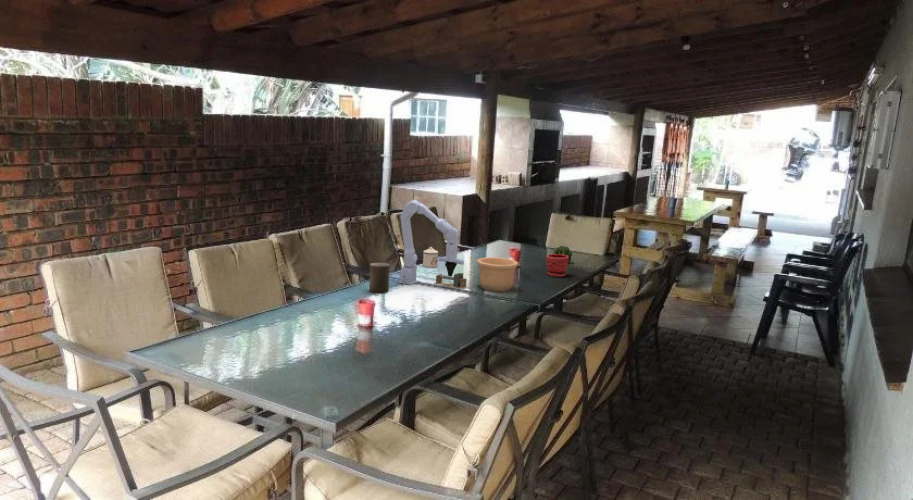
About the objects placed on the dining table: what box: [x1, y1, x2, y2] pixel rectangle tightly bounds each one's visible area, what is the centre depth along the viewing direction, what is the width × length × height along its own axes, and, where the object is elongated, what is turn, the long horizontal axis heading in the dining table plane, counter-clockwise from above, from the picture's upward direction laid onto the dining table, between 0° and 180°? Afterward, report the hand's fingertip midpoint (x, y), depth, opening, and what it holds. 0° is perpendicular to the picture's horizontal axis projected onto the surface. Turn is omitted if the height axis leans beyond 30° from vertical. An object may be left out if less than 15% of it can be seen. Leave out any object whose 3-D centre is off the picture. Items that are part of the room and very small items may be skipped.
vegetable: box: [552, 245, 573, 265], centre depth 426 cm, size 12×13×15 cm
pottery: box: [476, 256, 519, 292], centre depth 350 cm, size 22×22×14 cm
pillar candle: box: [369, 262, 390, 294], centre depth 329 cm, size 10×10×15 cm
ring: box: [452, 272, 464, 287], centre depth 348 cm, size 2×6×6 cm, turn 152°
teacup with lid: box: [422, 246, 439, 269], centre depth 396 cm, size 12×9×12 cm
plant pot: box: [545, 253, 569, 278], centre depth 389 cm, size 13×13×12 cm
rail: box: [433, 273, 468, 290], centre depth 350 cm, size 17×6×5 cm, turn 63°
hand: (450, 275), depth 350 cm, fingers closed
